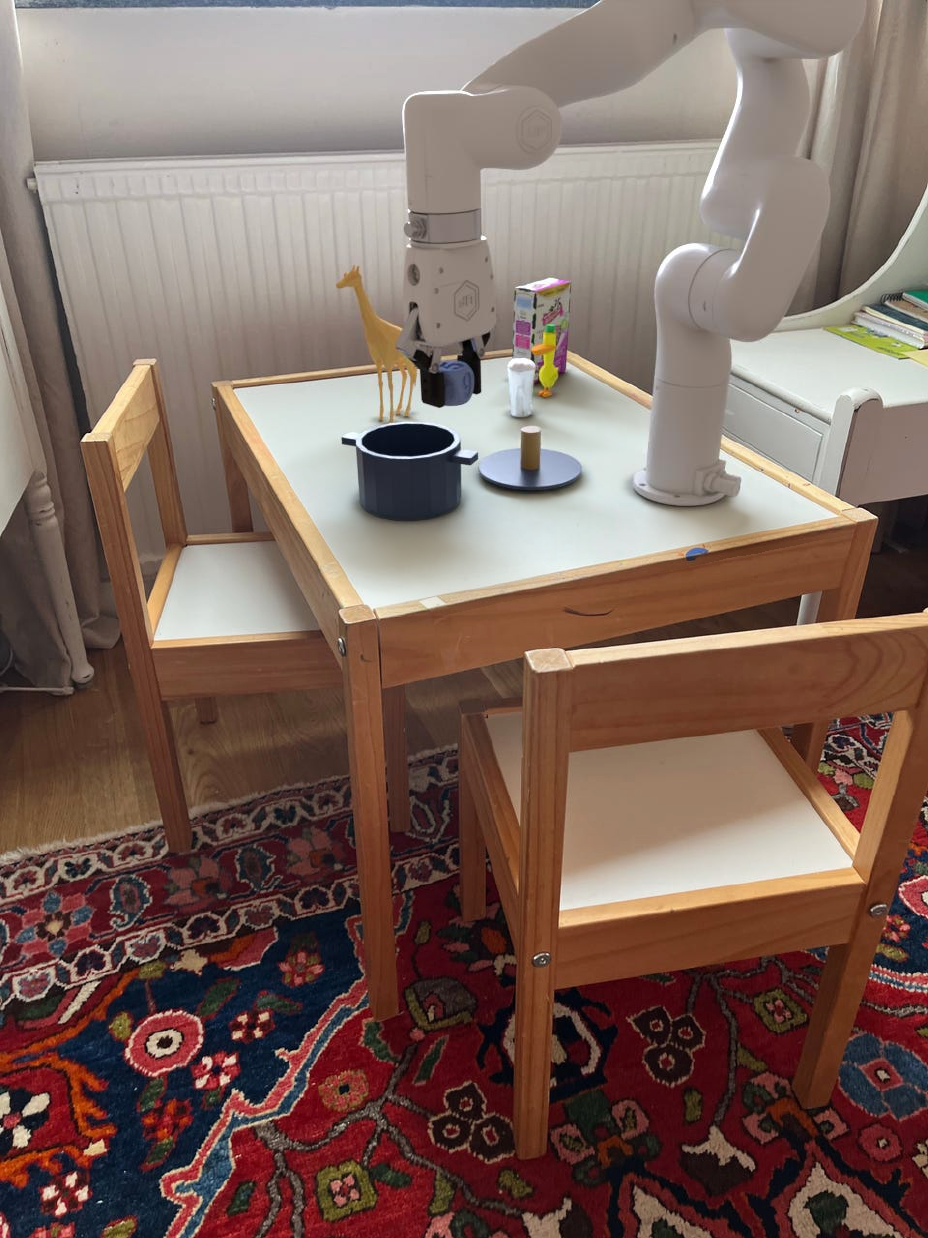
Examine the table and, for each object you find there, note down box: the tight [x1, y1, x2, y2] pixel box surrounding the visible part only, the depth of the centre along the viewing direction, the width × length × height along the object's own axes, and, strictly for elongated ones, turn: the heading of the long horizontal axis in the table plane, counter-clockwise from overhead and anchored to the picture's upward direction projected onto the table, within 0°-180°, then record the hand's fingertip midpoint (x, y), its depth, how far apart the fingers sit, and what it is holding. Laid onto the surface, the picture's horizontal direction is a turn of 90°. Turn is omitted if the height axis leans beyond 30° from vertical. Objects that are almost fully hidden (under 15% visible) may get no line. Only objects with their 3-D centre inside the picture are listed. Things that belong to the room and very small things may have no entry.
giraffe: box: [335, 264, 418, 424], centre depth 151 cm, size 16×4×25 cm, turn 141°
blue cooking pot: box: [340, 421, 479, 522], centre depth 128 cm, size 14×19×8 cm
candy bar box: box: [511, 277, 572, 384], centre depth 173 cm, size 11×5×16 cm, turn 141°
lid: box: [478, 425, 583, 491], centre depth 136 cm, size 15×15×7 cm
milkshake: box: [506, 355, 541, 418], centre depth 157 cm, size 5×5×10 cm
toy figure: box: [531, 324, 559, 398], centre depth 165 cm, size 7×4×12 cm, turn 133°
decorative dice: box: [439, 360, 474, 407], centre depth 109 cm, size 4×4×4 cm
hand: (451, 396), depth 109 cm, fingers closed on decorative dice, 5 cm apart
